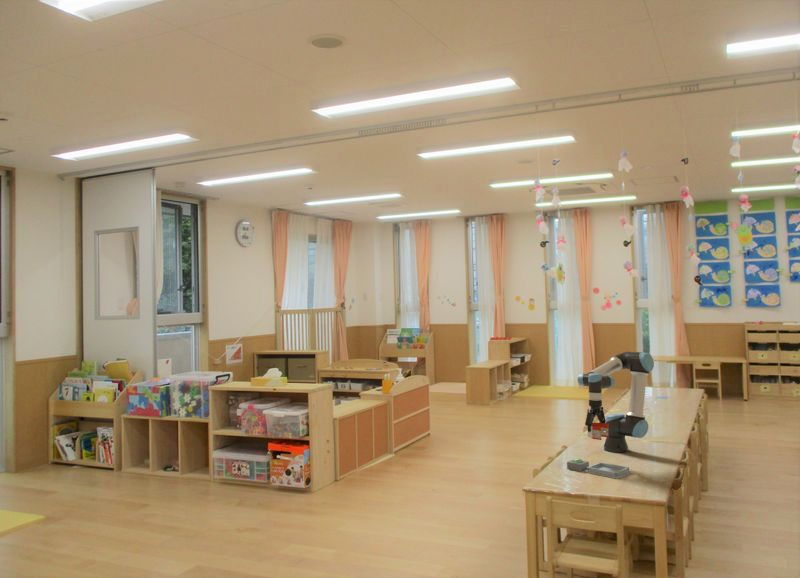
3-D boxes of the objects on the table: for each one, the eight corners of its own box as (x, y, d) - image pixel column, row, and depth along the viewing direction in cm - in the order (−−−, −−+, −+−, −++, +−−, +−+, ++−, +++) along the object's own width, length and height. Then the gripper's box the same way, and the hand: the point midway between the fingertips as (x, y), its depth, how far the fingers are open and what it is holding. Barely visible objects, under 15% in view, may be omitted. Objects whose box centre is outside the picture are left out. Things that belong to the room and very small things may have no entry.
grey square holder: (575, 465, 375) (575, 459, 375) (589, 468, 368) (588, 461, 368) (567, 468, 369) (567, 461, 369) (581, 471, 362) (580, 464, 362)
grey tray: (598, 466, 372) (598, 461, 372) (631, 473, 357) (631, 467, 357) (585, 472, 360) (584, 467, 360) (618, 479, 346) (617, 473, 346)
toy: (593, 434, 385) (593, 421, 385) (609, 437, 378) (609, 423, 378) (584, 438, 375) (583, 424, 375) (600, 440, 368) (600, 426, 369)
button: (576, 465, 371) (576, 458, 372) (583, 466, 368) (582, 459, 369) (572, 467, 369) (572, 459, 369) (579, 468, 366) (579, 460, 366)
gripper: (600, 396, 389) (600, 432, 388) (578, 400, 372) (579, 437, 372) (611, 398, 383) (611, 433, 383) (590, 402, 367) (590, 439, 366)
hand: (595, 435), depth 377 cm, fingers closed on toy, 12 cm apart
